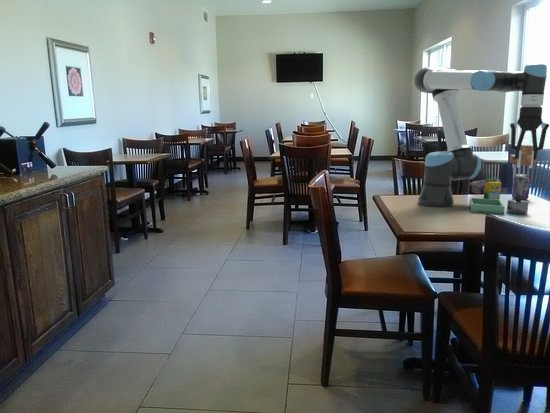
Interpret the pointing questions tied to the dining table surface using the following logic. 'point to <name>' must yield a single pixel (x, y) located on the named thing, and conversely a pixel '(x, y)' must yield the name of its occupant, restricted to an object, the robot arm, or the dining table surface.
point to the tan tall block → (524, 156)
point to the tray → (486, 205)
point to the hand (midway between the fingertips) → (524, 167)
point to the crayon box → (492, 189)
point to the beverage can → (525, 186)
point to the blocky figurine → (518, 200)
